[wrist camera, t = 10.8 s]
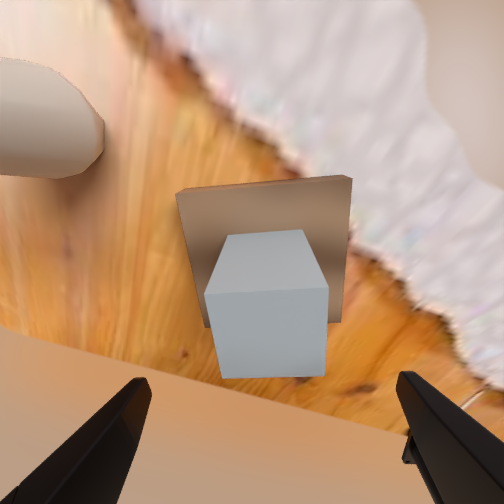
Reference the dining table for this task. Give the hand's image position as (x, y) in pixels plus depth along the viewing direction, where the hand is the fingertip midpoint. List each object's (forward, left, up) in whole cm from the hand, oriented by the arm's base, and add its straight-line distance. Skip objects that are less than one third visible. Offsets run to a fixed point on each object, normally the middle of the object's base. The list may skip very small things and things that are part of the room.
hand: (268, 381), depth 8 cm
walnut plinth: (0, 0, -11) cm, 11 cm away
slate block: (0, 0, -9) cm, 9 cm away
